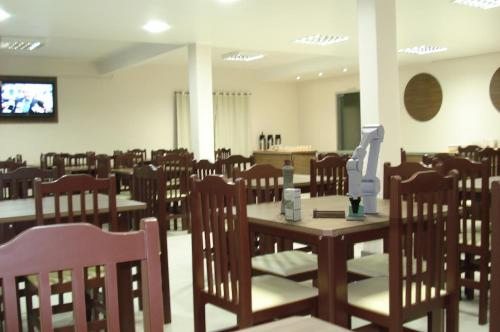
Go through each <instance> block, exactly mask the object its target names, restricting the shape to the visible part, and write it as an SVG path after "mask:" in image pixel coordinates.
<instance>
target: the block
mask: <svg viewBox="0 0 500 332" xmlns="http://www.w3.org/2000/svg"><path fill="white" fill-rule="evenodd" d="M348 217H365V213H364V205H362V204H359V208H358V213H353V211H352V205H351V204H348Z"/></svg>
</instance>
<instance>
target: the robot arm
mask: <svg viewBox="0 0 500 332" xmlns="http://www.w3.org/2000/svg"><path fill="white" fill-rule="evenodd" d="M385 133H386V132H385V127H384V126H383V125H382V124H381V123H380V124H364V125H363V126H362V128H361V139H360V142H359V144H358V146H357V147H356V148H355V149H354V151H353V153H352V155H351V158H350V159H348V160H347V161H346V164H345V168H346V170H347V171H346V172H347V173H346V174H347V175H348V192H347V193H346V196H349V197H348V199H349V202H350V205H352V211H353V213H358V208H359V205H364V214H379V211H378V195H379V194H380V192H381V188H382V187H381V186H382V185H381V180H380V178H379V177H378V176H377V171H378V164H379V157H380V151H381V144H382V143H383V142H384V138H385ZM368 146H369V150H368V152H367V148H368ZM367 153H368V157H367V162H366V168H365V169H366V170H365V174H364V175H363V176H362V170H363V169H364V163H365V162H364V160H365V158H366V155H367ZM360 203H361V204H360Z"/></svg>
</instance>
